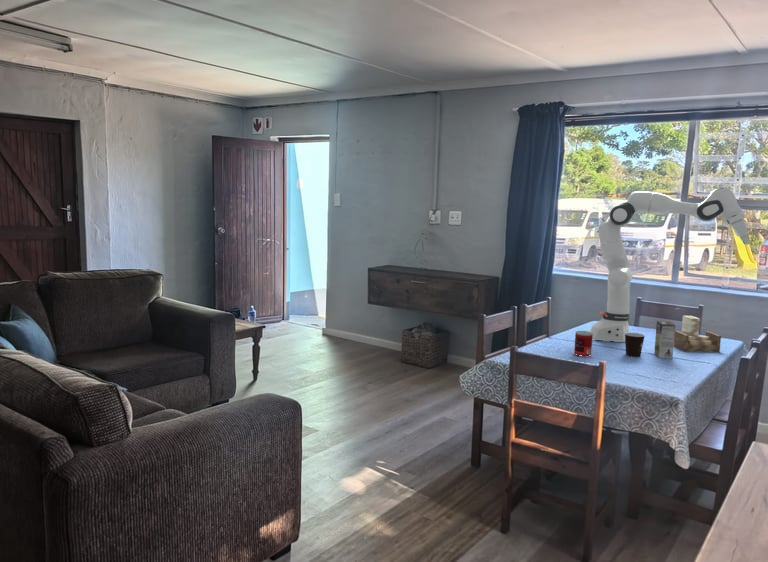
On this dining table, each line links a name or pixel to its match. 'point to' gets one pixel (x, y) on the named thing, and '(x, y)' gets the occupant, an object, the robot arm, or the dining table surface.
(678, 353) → the dining table surface
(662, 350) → the coffee box
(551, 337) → the dining table surface
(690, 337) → the back plywood offcut
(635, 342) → the brown paper cup
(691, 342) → the front plywood offcut
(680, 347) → the walnut rack
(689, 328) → the pale wood block
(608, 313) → the robot arm
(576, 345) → the canned food
